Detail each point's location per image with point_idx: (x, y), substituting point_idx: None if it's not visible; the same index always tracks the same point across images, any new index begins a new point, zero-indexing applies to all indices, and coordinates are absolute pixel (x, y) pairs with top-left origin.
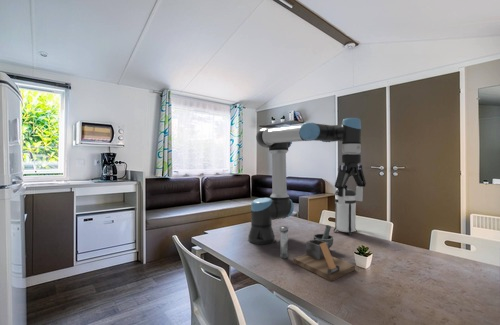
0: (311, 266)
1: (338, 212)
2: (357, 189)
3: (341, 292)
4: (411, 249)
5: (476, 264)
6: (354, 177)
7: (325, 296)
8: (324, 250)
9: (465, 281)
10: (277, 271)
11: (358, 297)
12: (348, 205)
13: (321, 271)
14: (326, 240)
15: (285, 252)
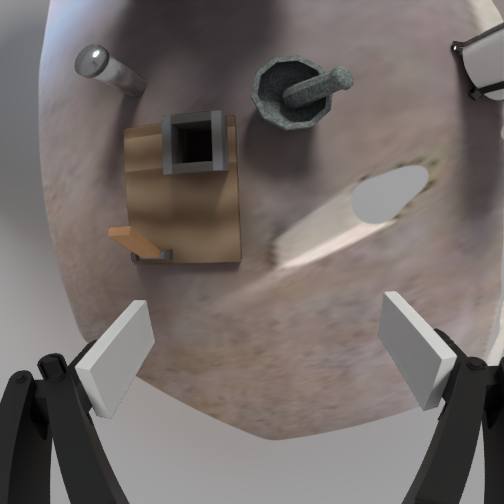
0: (128, 198)
1: (499, 38)
2: (423, 354)
3: (126, 299)
4: (486, 268)
5: None
6: (422, 478)
7: (93, 289)
8: (121, 243)
9: (379, 395)
10: (71, 156)
11: None
12: None
13: None
14: (272, 122)
15: (124, 93)
